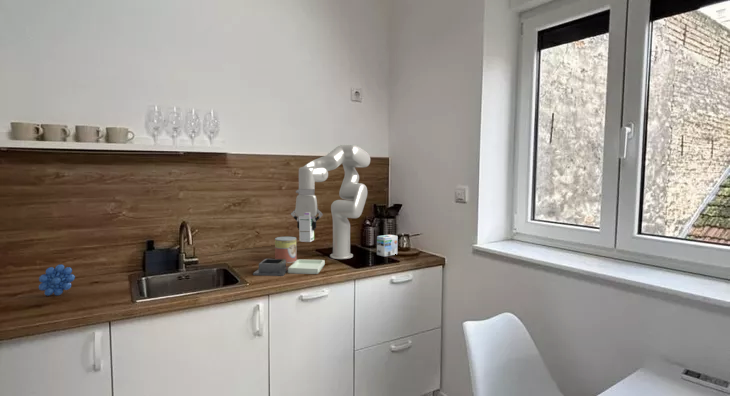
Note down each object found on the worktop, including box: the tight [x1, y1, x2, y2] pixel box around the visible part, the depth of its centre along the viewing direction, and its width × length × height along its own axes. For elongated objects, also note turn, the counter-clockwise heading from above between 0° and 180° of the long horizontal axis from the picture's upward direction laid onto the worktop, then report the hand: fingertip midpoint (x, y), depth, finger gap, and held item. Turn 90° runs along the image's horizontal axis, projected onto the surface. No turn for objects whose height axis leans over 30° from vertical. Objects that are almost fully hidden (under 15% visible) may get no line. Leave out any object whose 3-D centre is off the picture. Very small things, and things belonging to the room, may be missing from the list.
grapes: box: [38, 264, 76, 296], centre depth 158 cm, size 12×7×12 cm, turn 113°
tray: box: [287, 258, 326, 275], centre depth 201 cm, size 18×14×2 cm
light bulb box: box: [376, 234, 399, 257], centre depth 234 cm, size 11×7×11 cm, turn 131°
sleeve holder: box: [252, 258, 291, 277], centre depth 195 cm, size 14×14×5 cm
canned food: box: [274, 236, 298, 264], centre depth 217 cm, size 11×11×12 cm
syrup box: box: [298, 212, 315, 243], centre depth 199 cm, size 6×6×14 cm
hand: (306, 229), depth 199 cm, fingers closed on syrup box, 6 cm apart
